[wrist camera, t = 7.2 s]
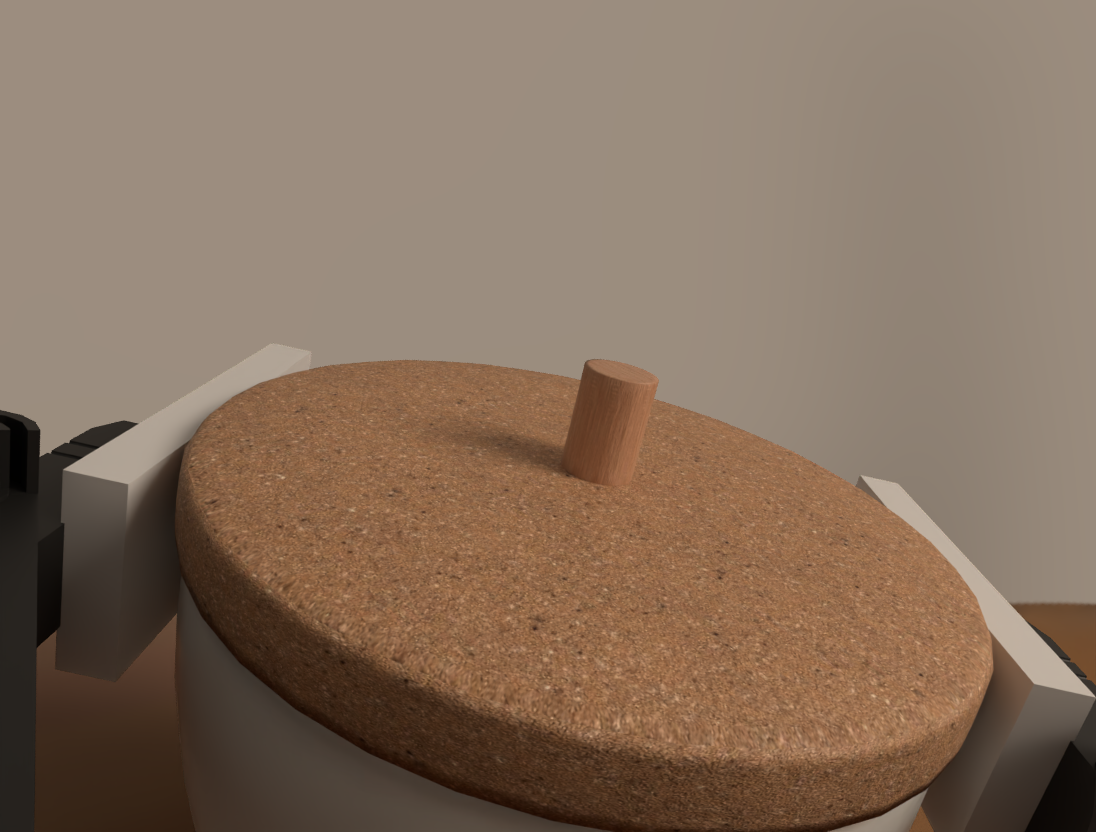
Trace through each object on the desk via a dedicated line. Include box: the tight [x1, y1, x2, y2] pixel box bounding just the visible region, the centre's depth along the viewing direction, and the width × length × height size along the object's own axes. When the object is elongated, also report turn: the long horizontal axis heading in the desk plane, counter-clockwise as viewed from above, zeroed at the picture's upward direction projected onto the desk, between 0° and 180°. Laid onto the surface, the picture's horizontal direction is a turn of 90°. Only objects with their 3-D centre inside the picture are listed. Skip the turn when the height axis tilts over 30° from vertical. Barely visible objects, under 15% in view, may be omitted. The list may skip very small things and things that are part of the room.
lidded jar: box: [174, 359, 994, 832], centre depth 13 cm, size 11×11×9 cm
